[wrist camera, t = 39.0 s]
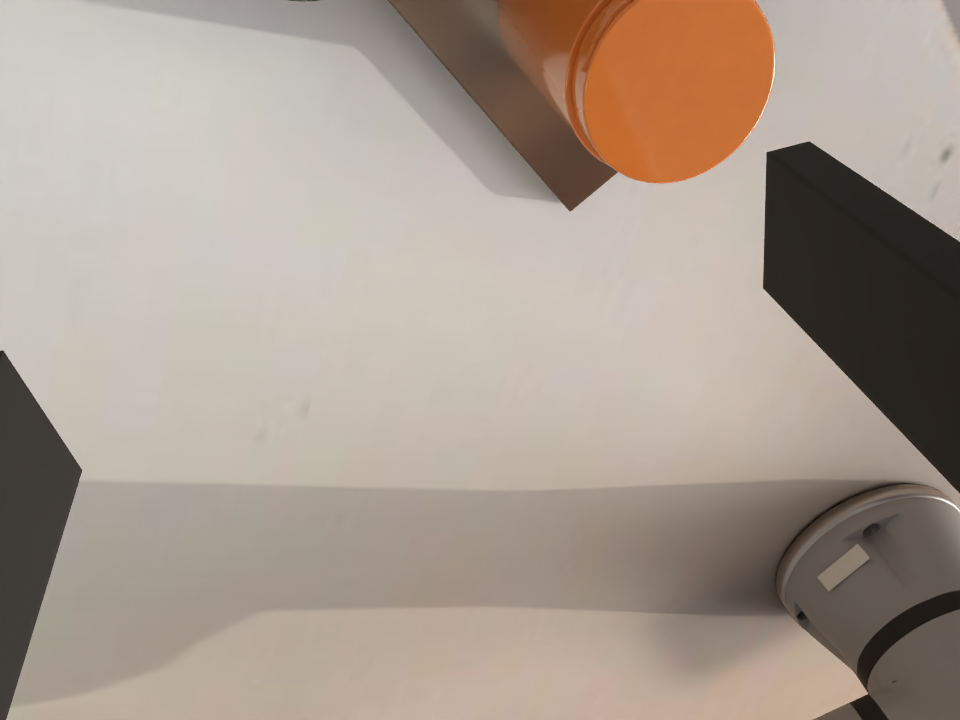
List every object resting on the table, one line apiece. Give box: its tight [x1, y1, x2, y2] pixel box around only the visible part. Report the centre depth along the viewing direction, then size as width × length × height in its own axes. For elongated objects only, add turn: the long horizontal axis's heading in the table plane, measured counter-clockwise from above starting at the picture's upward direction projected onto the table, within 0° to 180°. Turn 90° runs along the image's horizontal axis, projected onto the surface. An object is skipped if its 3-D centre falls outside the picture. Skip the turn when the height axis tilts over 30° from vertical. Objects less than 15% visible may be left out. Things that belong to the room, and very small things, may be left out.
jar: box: [497, 0, 775, 183], centre depth 32 cm, size 7×7×12 cm
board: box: [388, 0, 617, 211], centre depth 37 cm, size 16×12×1 cm
